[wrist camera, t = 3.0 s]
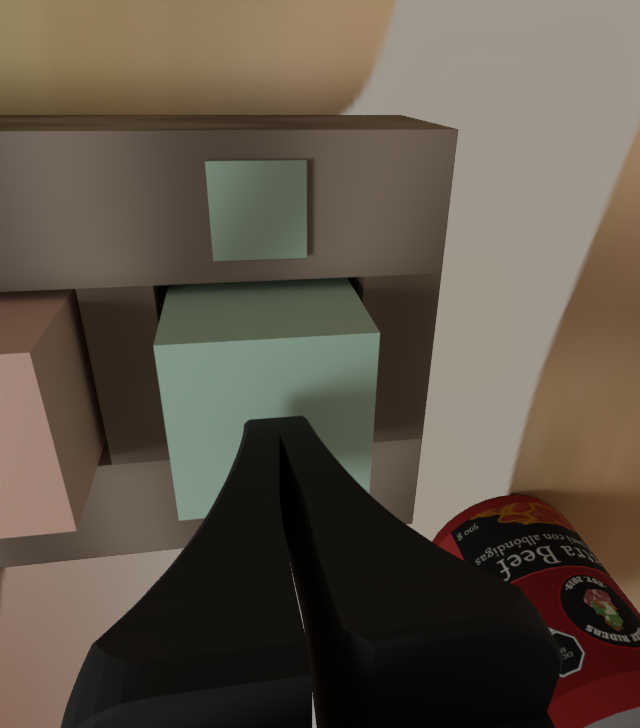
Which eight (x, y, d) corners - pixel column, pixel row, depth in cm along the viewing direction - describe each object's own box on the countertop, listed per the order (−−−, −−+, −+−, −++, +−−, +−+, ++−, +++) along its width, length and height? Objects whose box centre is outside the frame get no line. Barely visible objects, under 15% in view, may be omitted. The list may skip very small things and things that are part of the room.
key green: (187, 431, 18) (179, 520, 14) (169, 282, 15) (153, 345, 12) (341, 419, 18) (368, 501, 15) (345, 275, 16) (379, 332, 13)
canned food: (588, 495, 28) (781, 720, 18) (525, 605, 31) (661, 843, 22) (450, 482, 26) (584, 724, 16) (400, 600, 29) (486, 858, 20)
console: (-275, 497, 21) (-416, 617, 16) (-520, 115, 15) (-858, 135, 10) (378, 441, 24) (413, 527, 20) (401, 115, 18) (461, 130, 13)
